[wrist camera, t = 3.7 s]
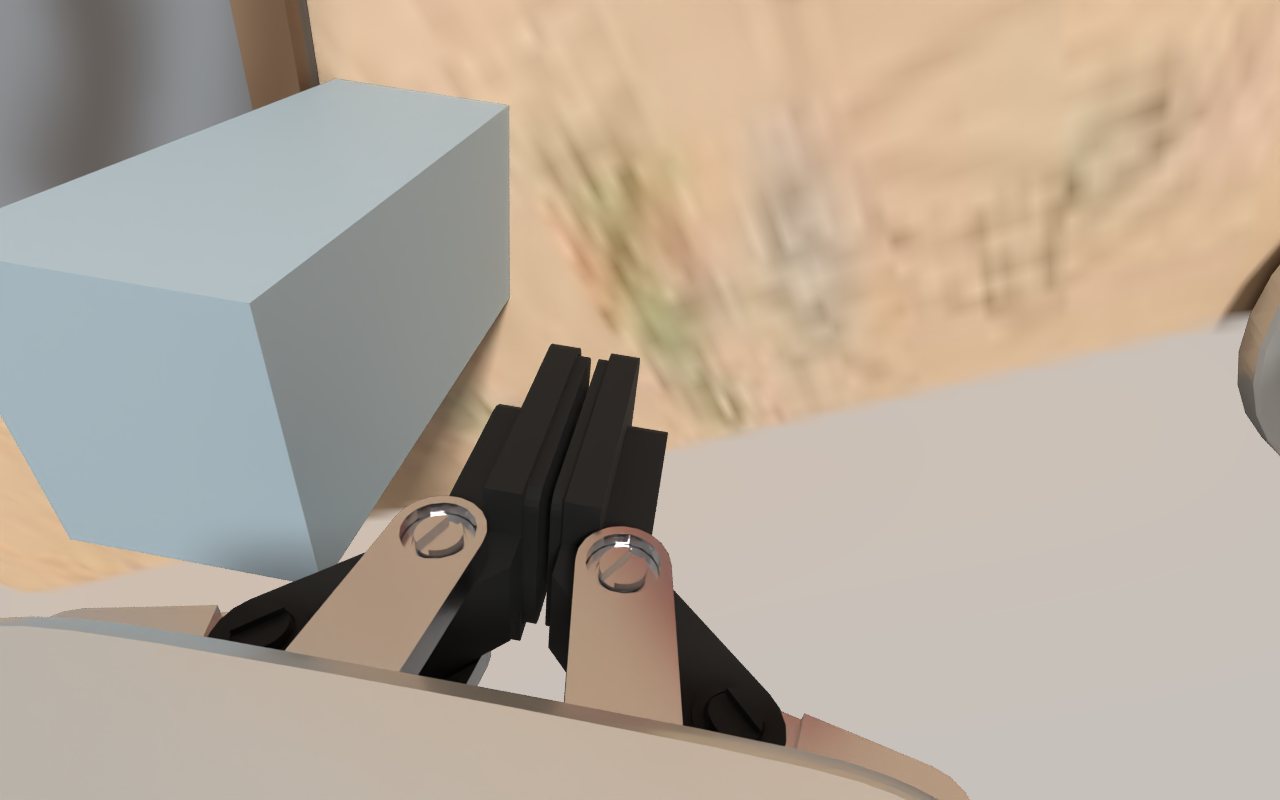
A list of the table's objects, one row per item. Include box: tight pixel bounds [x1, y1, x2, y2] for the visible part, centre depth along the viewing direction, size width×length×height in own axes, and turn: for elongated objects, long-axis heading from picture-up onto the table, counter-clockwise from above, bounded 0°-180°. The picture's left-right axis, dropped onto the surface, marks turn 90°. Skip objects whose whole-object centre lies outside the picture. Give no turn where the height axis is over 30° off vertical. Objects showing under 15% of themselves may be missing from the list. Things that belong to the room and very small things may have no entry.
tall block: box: [0, 79, 510, 581], centre depth 16 cm, size 5×6×12 cm
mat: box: [0, 0, 319, 208], centre depth 21 cm, size 14×20×1 cm
